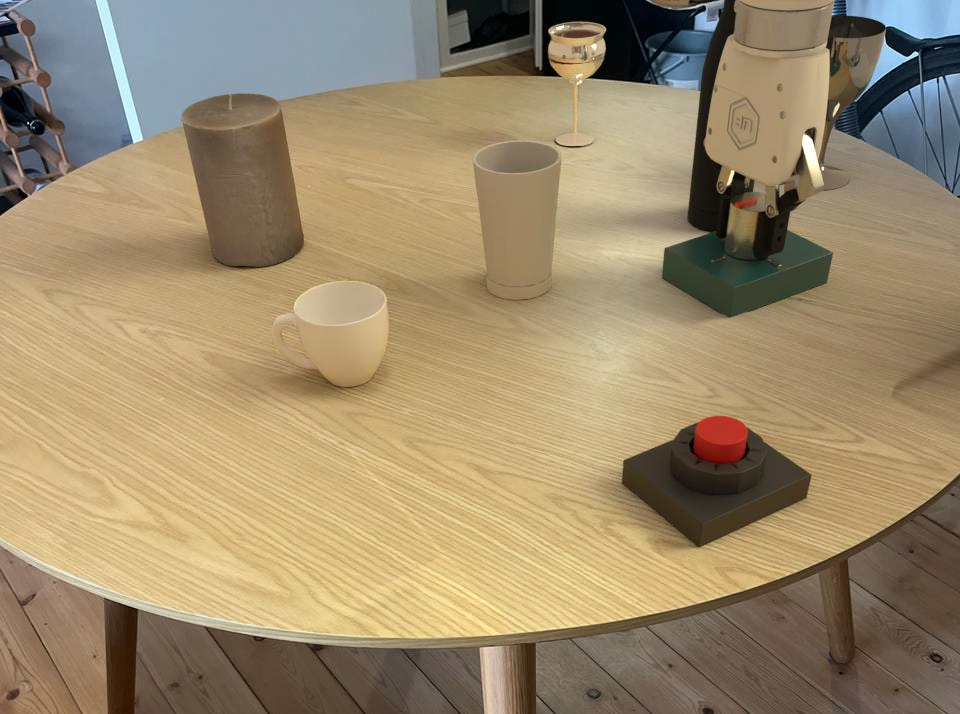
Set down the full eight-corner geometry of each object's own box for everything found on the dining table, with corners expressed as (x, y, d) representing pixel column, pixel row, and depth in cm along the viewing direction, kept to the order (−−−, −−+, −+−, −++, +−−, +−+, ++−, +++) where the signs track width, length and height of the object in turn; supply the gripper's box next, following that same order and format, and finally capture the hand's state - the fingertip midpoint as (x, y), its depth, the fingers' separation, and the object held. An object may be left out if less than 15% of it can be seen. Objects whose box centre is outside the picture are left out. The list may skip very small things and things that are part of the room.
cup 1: (394, 395, 86) (385, 322, 82) (276, 402, 86) (260, 329, 82) (395, 349, 92) (387, 277, 87) (284, 355, 92) (270, 284, 87)
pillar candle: (277, 220, 113) (249, 71, 102) (321, 250, 107) (297, 95, 96) (196, 246, 109) (159, 94, 98) (238, 278, 103) (203, 120, 92)
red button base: (724, 440, 80) (731, 396, 77) (806, 499, 74) (816, 453, 72) (621, 484, 77) (624, 439, 74) (698, 548, 71) (705, 503, 68)
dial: (750, 235, 98) (758, 184, 95) (782, 252, 95) (790, 200, 92) (714, 247, 97) (721, 195, 93) (745, 264, 94) (752, 212, 91)
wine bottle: (697, 203, 111) (734, -140, 90) (756, 211, 109) (808, -138, 88) (679, 227, 107) (713, -126, 86) (739, 236, 105) (789, -123, 84)
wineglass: (575, 154, 122) (578, 42, 114) (535, 140, 126) (535, 31, 117) (613, 138, 125) (619, 28, 117) (573, 125, 129) (576, 18, 121)
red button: (721, 430, 75) (724, 409, 73) (755, 454, 72) (758, 433, 71) (682, 446, 73) (685, 425, 72) (715, 471, 71) (718, 450, 70)
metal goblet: (869, 180, 114) (903, 28, 103) (815, 197, 111) (844, 43, 100) (818, 158, 118) (846, 11, 108) (765, 174, 116) (788, 25, 105)
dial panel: (755, 245, 103) (760, 214, 101) (827, 282, 97) (834, 250, 95) (661, 277, 99) (664, 246, 97) (729, 318, 93) (734, 286, 91)
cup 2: (464, 278, 101) (457, 152, 93) (534, 258, 103) (533, 134, 95) (502, 311, 96) (498, 181, 87) (575, 290, 98) (578, 161, 90)
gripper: (679, 10, 87) (661, 223, 100) (822, 59, 76) (781, 290, 89) (746, -5, 89) (720, 204, 102) (894, 39, 79) (844, 266, 92)
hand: (749, 242), depth 96 cm, fingers closed on dial, 4 cm apart
